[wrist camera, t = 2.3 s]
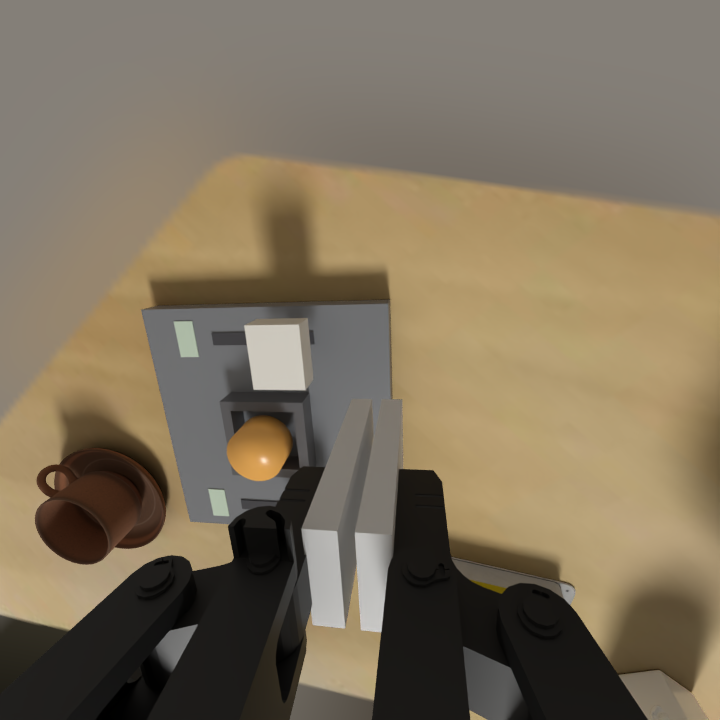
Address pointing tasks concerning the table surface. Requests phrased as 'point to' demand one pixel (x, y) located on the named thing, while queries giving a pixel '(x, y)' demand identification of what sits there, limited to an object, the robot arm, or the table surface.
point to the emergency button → (508, 578)
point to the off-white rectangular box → (279, 353)
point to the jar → (662, 696)
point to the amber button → (260, 448)
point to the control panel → (260, 391)
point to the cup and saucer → (98, 506)
